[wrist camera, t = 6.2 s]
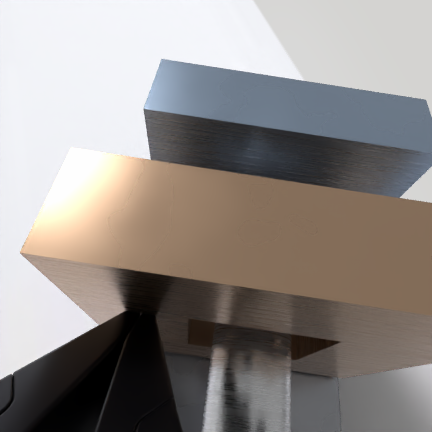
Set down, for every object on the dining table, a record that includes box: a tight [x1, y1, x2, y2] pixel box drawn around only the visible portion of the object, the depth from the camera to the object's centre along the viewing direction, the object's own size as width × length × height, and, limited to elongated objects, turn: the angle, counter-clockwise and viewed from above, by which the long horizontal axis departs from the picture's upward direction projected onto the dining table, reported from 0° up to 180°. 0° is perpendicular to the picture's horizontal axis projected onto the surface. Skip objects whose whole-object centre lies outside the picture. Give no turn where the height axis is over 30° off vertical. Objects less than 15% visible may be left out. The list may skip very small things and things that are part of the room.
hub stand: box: [144, 59, 432, 432], centre depth 11 cm, size 14×10×11 cm
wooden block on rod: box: [20, 148, 432, 378], centre depth 11 cm, size 2×10×10 cm, turn 83°
